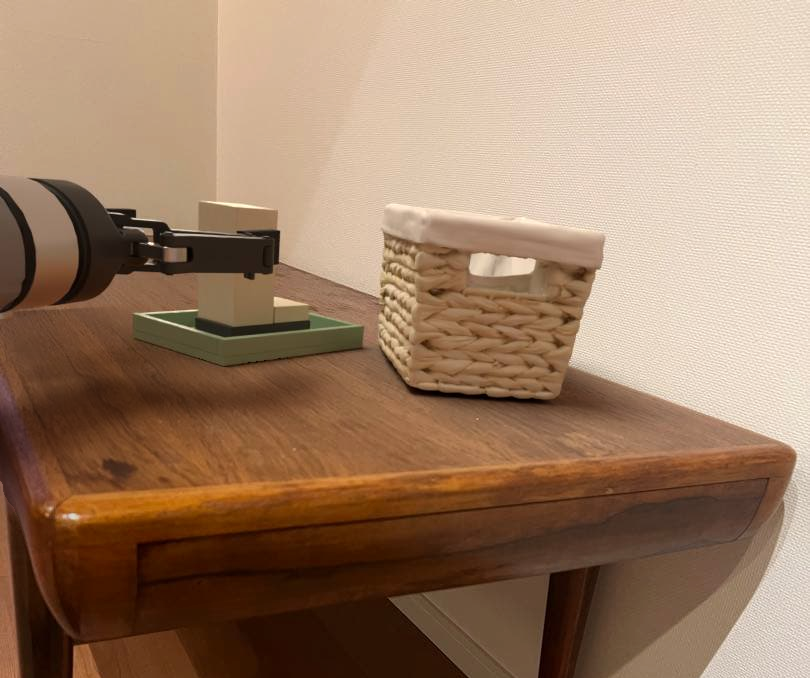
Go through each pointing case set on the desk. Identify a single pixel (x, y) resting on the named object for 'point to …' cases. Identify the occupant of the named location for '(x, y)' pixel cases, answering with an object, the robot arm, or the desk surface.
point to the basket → (483, 300)
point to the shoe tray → (244, 338)
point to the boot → (243, 282)
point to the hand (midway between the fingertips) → (202, 236)
